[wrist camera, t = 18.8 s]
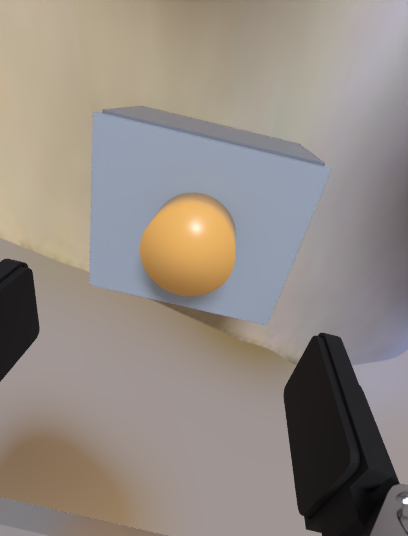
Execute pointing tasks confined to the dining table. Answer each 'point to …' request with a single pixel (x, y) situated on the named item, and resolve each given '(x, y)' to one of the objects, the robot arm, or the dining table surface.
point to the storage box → (216, 132)
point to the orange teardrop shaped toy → (189, 245)
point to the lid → (205, 182)
